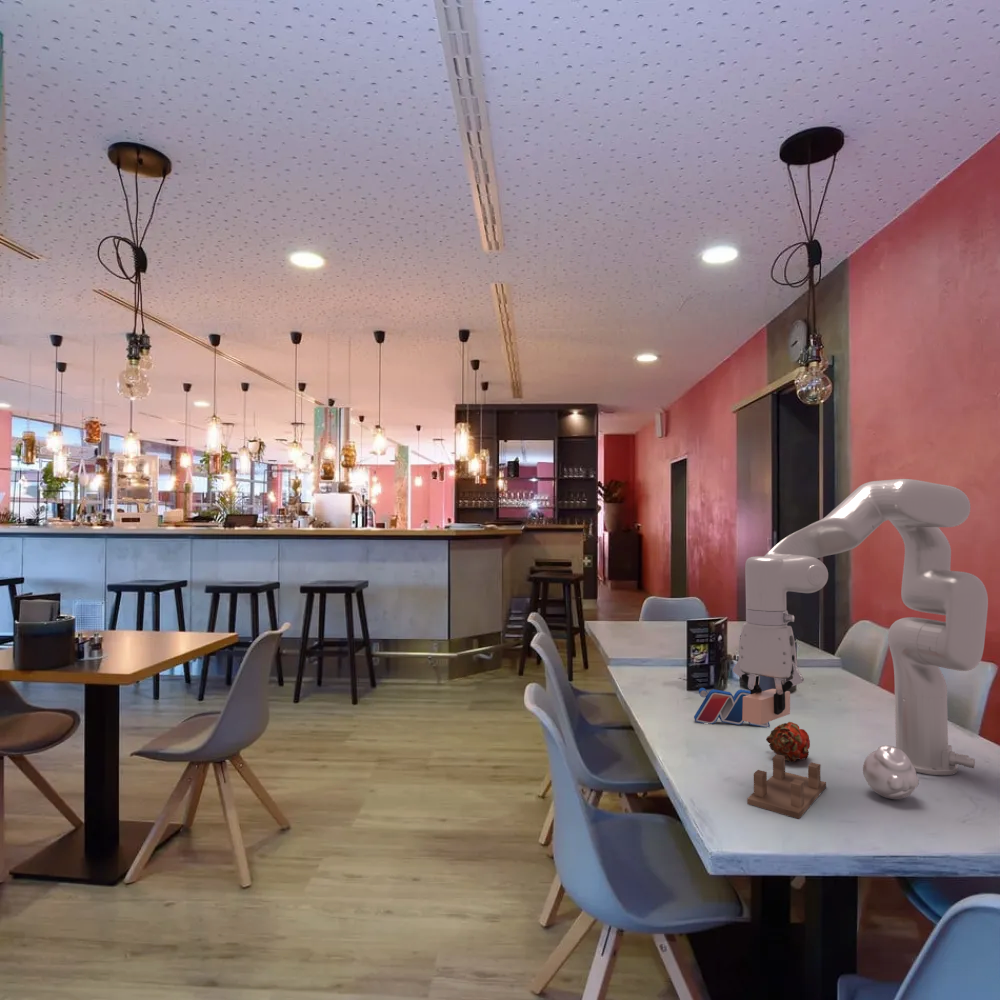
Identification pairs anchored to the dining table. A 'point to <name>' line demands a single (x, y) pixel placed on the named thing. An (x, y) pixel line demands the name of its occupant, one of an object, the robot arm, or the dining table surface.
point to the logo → (722, 707)
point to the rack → (786, 789)
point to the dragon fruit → (789, 741)
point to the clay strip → (763, 707)
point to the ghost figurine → (890, 772)
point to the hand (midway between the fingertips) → (767, 710)
